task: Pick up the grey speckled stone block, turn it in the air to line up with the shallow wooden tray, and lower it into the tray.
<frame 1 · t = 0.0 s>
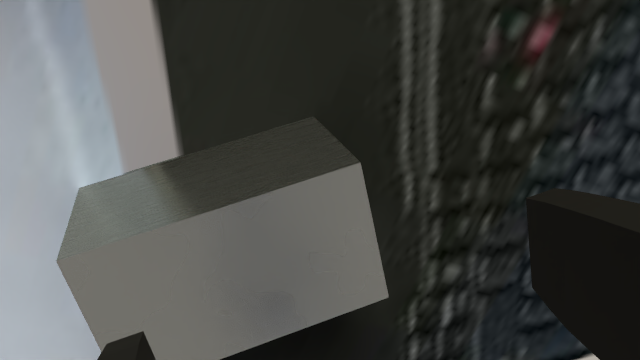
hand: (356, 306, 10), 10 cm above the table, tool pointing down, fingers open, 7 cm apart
grey speckled stone block: (219, 207, 20), on the table
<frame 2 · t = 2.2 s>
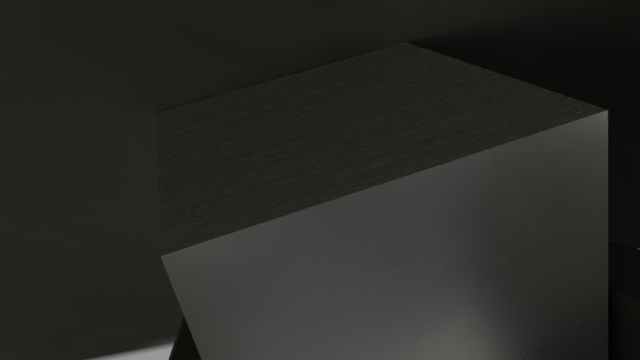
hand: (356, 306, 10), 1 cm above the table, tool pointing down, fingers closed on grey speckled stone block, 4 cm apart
grey speckled stone block: (332, 266, 11), on the table, touching gripper
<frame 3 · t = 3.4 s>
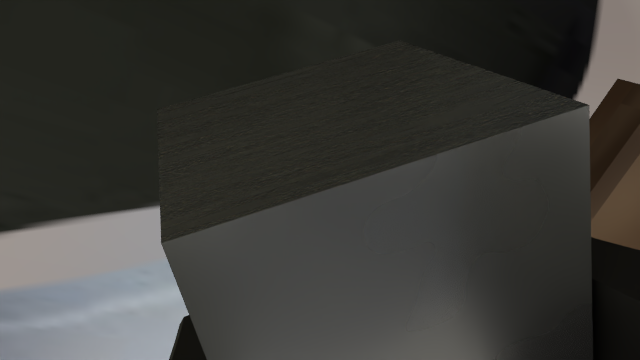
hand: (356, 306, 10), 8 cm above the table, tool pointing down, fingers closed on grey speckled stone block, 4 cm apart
grey speckled stone block: (329, 260, 12), point 7 cm above the table, touching gripper
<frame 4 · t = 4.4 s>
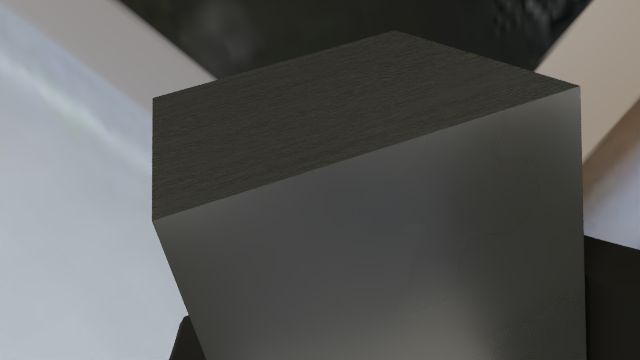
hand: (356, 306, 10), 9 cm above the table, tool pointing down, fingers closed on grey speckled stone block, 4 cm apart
grey speckled stone block: (325, 251, 12), point 7 cm above the table, touching gripper
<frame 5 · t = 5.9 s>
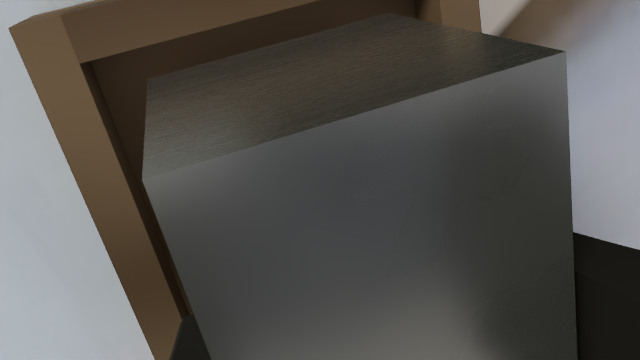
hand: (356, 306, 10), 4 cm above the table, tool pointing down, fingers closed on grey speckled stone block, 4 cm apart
grey speckled stone block: (320, 234, 12), point 2 cm above the table, touching gripper
shallow wooden tray: (303, 213, 14), on the table
when the fingers open (3 cm above the table, at t = 6.9 s): grey speckled stone block stays where it is, resting on shallow wooden tray.
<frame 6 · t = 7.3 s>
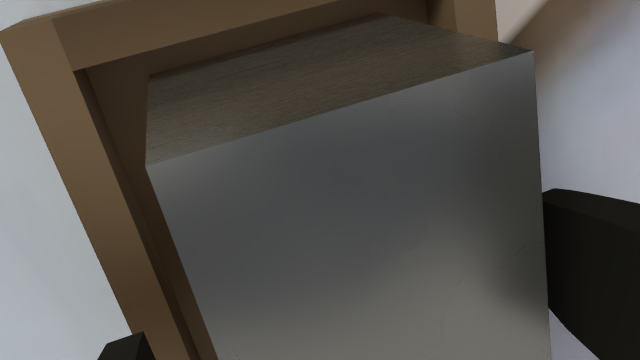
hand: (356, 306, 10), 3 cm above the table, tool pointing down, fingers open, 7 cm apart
grey speckled stone block: (313, 224, 12), point 1 cm above the table, touching shallow wooden tray
shallow wooden tray: (308, 225, 13), on the table
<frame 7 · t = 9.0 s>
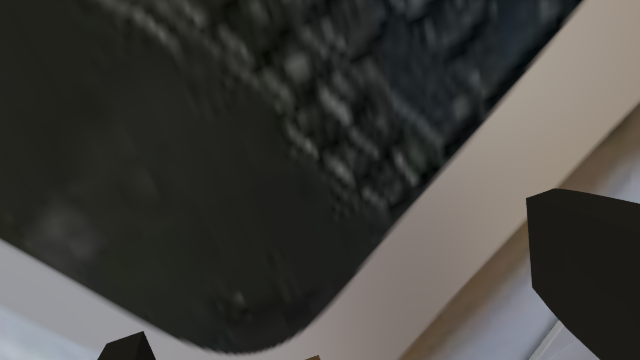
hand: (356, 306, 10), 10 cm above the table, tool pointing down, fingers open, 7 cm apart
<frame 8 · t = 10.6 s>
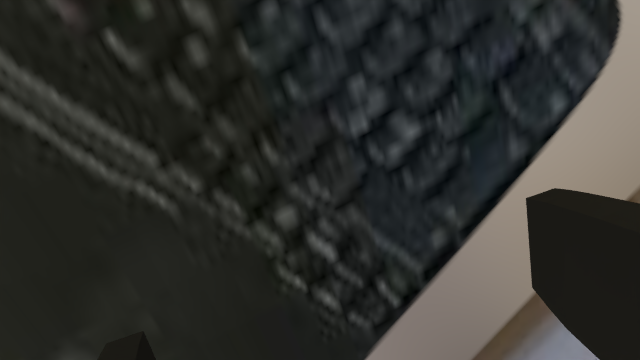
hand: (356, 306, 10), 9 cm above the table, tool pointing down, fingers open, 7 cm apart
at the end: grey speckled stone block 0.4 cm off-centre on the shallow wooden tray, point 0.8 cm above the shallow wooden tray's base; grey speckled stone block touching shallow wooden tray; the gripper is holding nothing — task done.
